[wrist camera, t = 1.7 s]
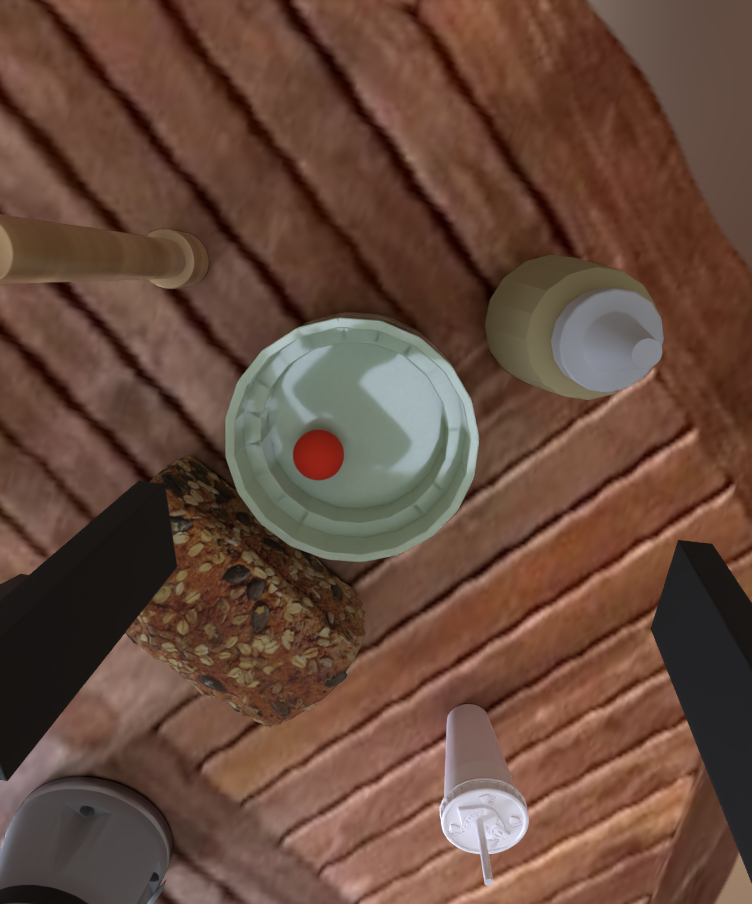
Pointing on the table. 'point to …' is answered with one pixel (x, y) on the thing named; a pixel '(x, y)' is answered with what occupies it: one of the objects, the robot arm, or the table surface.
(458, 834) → the smoothie
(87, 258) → the muddler
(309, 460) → the cherry tomato
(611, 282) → the squeeze bottle
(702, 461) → the table surface
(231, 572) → the bread
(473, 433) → the bowl
